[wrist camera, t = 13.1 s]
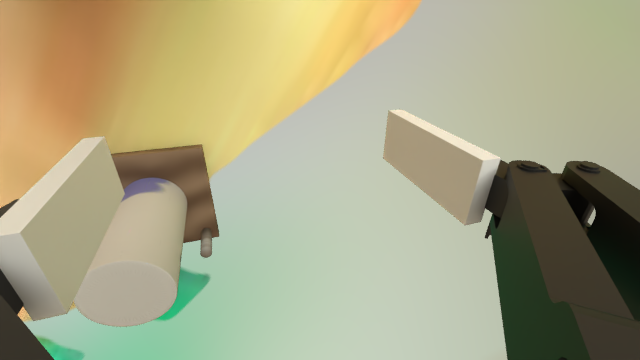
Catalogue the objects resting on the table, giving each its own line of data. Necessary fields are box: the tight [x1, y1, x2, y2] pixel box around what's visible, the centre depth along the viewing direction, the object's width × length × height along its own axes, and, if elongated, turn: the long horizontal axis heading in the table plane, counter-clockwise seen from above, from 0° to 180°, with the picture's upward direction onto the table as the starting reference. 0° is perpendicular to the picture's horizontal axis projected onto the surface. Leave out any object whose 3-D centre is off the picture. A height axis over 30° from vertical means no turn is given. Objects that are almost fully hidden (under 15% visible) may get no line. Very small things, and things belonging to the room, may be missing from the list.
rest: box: [111, 145, 219, 258], centre depth 49 cm, size 18×18×8 cm
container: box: [74, 178, 187, 327], centre depth 42 cm, size 10×10×20 cm
